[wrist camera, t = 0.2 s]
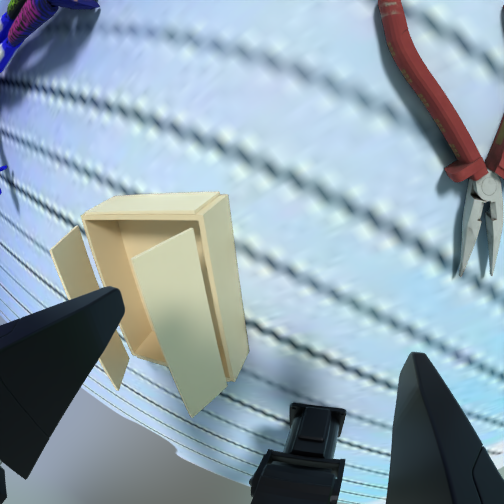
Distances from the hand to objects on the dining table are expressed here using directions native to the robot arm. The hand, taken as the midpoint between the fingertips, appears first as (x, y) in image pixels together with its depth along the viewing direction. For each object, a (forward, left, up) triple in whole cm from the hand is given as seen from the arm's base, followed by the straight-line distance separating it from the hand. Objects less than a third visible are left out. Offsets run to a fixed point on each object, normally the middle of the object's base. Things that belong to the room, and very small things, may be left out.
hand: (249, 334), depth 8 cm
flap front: (-8, +8, -9) cm, 15 cm away
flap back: (-8, +17, -9) cm, 21 cm away
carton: (-8, +13, -14) cm, 21 cm away
